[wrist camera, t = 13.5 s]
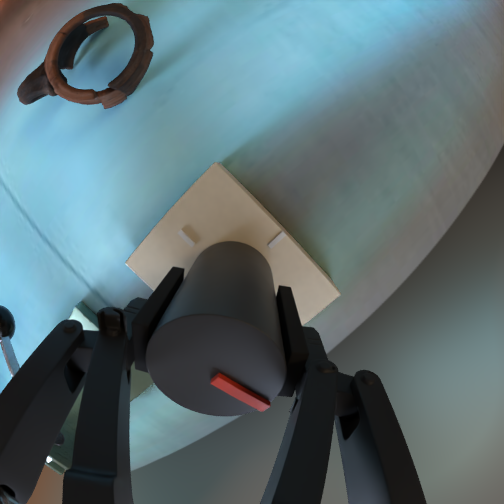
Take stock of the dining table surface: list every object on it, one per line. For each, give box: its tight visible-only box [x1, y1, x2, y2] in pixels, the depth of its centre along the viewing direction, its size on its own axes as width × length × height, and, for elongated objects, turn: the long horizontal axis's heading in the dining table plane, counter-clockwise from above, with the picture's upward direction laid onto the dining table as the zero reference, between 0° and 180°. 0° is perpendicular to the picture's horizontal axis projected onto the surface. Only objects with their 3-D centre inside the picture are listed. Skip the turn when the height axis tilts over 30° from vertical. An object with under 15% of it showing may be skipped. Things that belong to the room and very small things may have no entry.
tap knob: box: [145, 241, 287, 416], centre depth 14 cm, size 6×6×10 cm
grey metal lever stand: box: [45, 302, 154, 475], centre depth 18 cm, size 11×9×15 cm
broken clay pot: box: [17, 3, 154, 109], centre depth 14 cm, size 12×10×8 cm
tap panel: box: [125, 162, 341, 326], centre depth 20 cm, size 13×10×3 cm
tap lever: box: [0, 305, 53, 463], centre depth 14 cm, size 15×4×4 cm, turn 47°
